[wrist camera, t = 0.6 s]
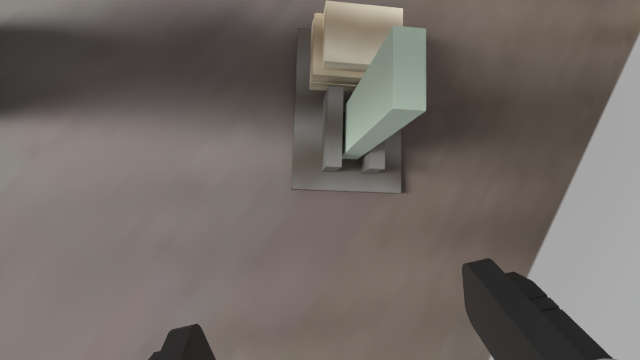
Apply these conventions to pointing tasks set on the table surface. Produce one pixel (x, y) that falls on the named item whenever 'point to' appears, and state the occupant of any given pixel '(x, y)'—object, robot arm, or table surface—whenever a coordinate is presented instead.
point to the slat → (387, 92)
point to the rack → (340, 100)
